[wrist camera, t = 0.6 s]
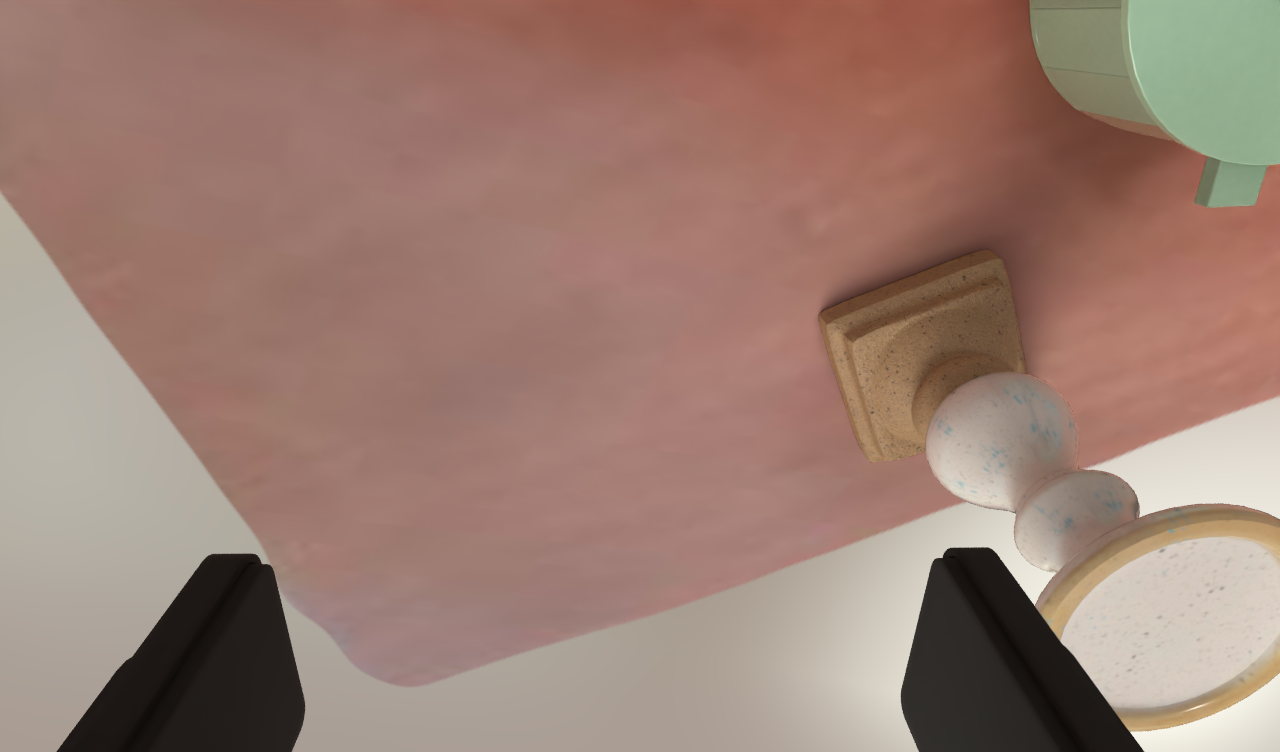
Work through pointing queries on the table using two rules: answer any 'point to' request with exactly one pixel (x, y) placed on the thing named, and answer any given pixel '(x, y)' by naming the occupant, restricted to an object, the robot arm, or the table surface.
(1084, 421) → the table surface
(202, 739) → the robot arm
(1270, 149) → the pot lid
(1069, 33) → the pot
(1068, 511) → the candle holder
